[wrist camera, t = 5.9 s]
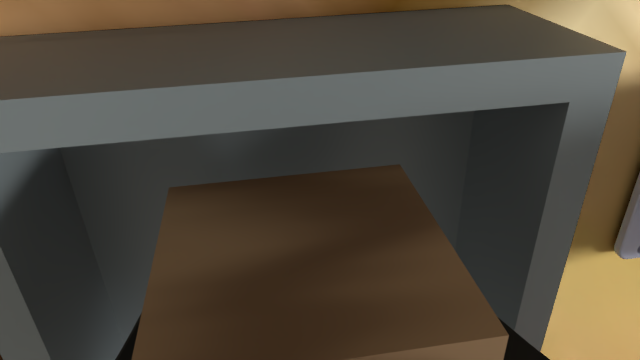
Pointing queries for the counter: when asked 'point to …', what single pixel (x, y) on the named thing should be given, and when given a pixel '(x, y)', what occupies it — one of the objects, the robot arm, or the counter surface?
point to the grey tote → (288, 148)
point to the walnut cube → (311, 275)
